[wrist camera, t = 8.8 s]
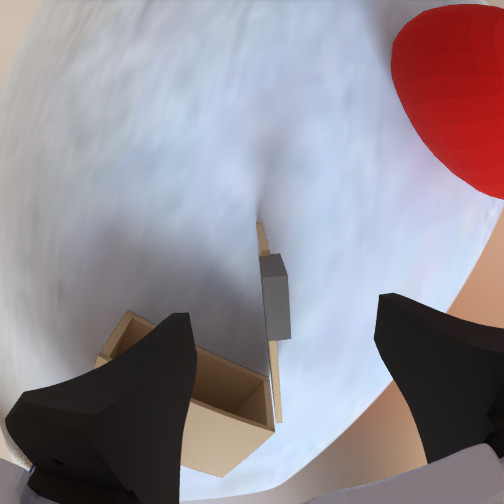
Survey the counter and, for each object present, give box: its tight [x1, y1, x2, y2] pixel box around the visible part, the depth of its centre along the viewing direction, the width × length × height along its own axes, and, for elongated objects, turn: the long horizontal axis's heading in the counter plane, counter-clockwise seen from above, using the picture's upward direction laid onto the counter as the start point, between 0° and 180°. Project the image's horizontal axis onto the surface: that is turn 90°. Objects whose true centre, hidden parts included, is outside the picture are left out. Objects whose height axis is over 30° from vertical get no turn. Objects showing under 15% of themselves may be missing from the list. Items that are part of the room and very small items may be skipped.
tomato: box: [391, 4, 504, 200], centre depth 12 cm, size 12×14×11 cm
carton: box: [93, 310, 275, 478], centre depth 21 cm, size 8×13×6 cm, turn 59°
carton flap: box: [256, 223, 291, 423], centre depth 18 cm, size 1×12×8 cm, turn 6°
